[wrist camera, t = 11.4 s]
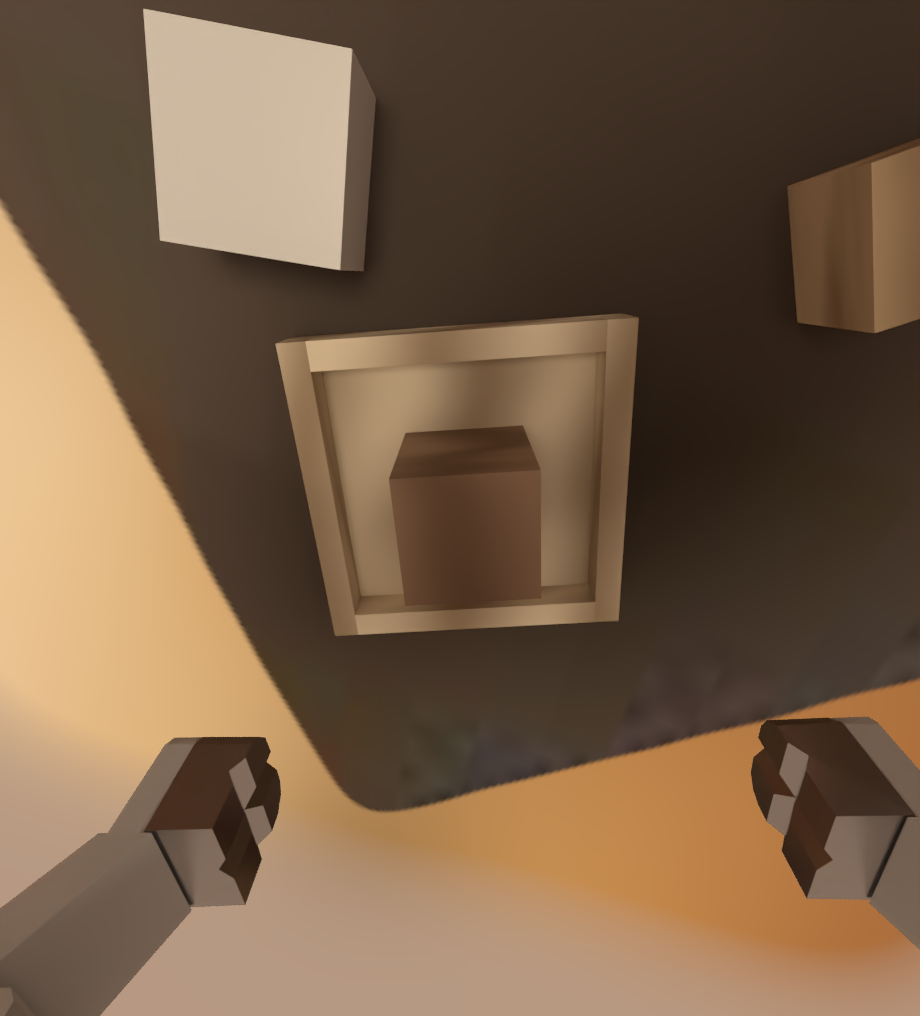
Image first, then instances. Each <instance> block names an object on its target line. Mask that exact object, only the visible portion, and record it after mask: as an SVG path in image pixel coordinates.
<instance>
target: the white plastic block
mask: <svg viewBox="0 0 920 1016" xmlns="http://www.w3.org/2000/svg"><path fill="white" fill-rule="evenodd" d="M143 11H144V25H145V38H146V52H147V66H148V80H149V94H150V107H151V121H152V135H153V149H154V163H155V176H156V190H157V204H158V218H159V232H160V240H161V241H167V242H173V243H179V244H185V245H191V246H197V247H203V248H209V249H215V250H221V251H227V252H233V253H239V254H245V255H251V256H257V257H263V258H269V259H275V260H281V261H287V262H293V263H299V264H305V265H311V266H317V267H323V268H329V269H335V270H345V271H364V258H365V244H366V230H367V216H368V202H369V188H370V174H371V160H372V145H373V131H374V117H375V103H376V97H375V95H374V93H373V91H372V89H371V87H370V85H369V82H368V80H367V78H366V76H365V74H364V72H363V70H362V68H361V66H360V64H359V62H358V60H357V58H356V56H355V53H354V51H353V49H351V48H345V47H340V46H335V45H330V44H324V43H319V42H314V41H309V40H304V39H298V38H293V37H288V36H283V35H278V34H272V33H267V32H262V31H257V30H251V29H246V28H241V27H236V26H231V25H225V24H220V23H215V22H210V21H205V20H199V19H194V18H189V17H184V16H178V15H173V14H168V13H163V12H158V11H152V10H147V9H143Z"/></svg>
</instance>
